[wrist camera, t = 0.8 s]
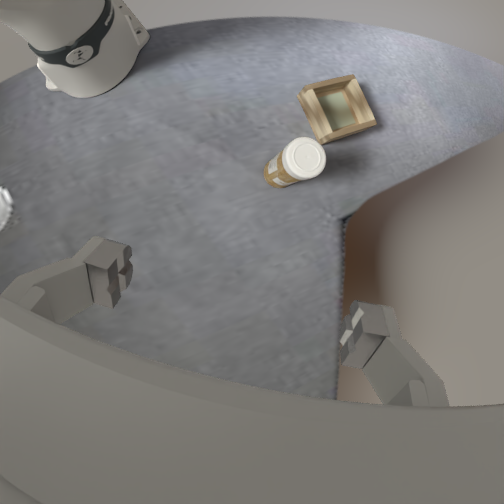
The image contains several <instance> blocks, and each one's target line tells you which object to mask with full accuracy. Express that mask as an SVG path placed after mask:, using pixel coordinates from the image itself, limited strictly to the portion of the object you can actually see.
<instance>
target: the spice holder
mask: <svg viewBox="0 0 504 504" xmlns="http://www.w3.org/2000/svg"><path fill="white" fill-rule="evenodd" d="M297 98H298V100H299V102H300V104H301V106H302V108H303V110H304V112H305V114H306V117H307V119H308V121H309V123H310V125H311V128H312V130H313V132H314V134H315V136H316V139H317V141H318V143H319V144H320V145H322V144H325V143H328V142H331V141H334V140H337V139H340V138H343V137H346V136H349V135H352V134H355V133H358V132H361V131H364V130H366V129H368V128H370V127H372V126H375V125H377V123H376V120H375V118H374V116H373V113H372V111H371V109H370V107H369V105H368V103H367V100H366V98H365V96H364V94H363V92H362V90H361V88H360V86H359V84H358V82H357V80H356V78H355V76H354V74H352V75H348V76H343V77H338V78H334V79H330V80H325V81H321V82H317V83H313V84H309V85H306V86H305V87H304V88H303V89H302V90H301V92H300V93H299V94H298V95H297Z"/></svg>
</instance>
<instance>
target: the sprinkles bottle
mask: <svg viewBox="0 0 504 504" xmlns="http://www.w3.org/2000/svg"><path fill="white" fill-rule="evenodd" d="M325 165H326V154H325V151H324V149H323V147H322V146H321V145H320V144H319V143H318V142H317V141H316V140H314V139H312V138H309V137H300V138H297V139H295V140H293V141H291V142H290V143H289V144H288V145H287V146H286V147H285V149H284V150H282V151H281V152H280V153H279V154H278V155H276V156H275V157H274V158H273V159H272V160H270V161H269V162H268V163H267V164H266V166H265V168H264V176H265V180H266V181H267V182H268V184H270V185H271V186H273V187H275V188H284V187H286V186H288V185H291V184H293V183H296V182H298V181H301V180H308V179H311V178H314V177H316V176H318V175H319V174H320V173H321V172H322V171H323V169H324V167H325Z"/></svg>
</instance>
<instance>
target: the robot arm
mask: <svg viewBox="0 0 504 504" xmlns="http://www.w3.org/2000/svg"><path fill="white" fill-rule="evenodd" d="M0 22H1V23H3V24H5V25H7V26H9V27H10V28H11V29H13V30H14V31H15V32H17V33H18V34H19V35H21V36H22V37H23V38H24V39H25V40H26V41H28V45H29V47H30V49H31V50H32V51H33V53H34V54H35V55H36V56H37V57H38V63H37V66H38V68H39V69H40V70H41V71H42V73H43V74H44V75H45V76H46V87H47V88H48V89H49V90H50V91H63V92H65V93H67V94H69V95H71V96H73V97H78V98H88V97H93V96H97V95H99V94H102V93H104V92H106V91H108V90H110V89H111V88H113V87H114V86H116V85H117V84H118V83H119V82H120V81H121V80H123V78H124V77H125V76H126V75H127V74H128V73H129V71H130V70H131V68H132V67H133V65H134V63H135V60H136V58H137V55H138V53H139V51H140V49H141V48H142V47H143V46H144V45H145V44H146V43H147V41H148V40H149V38H150V36H149V33H148V32H147V30H146V29H145V28H144V27H143V25H142V24H141V23H140V22H139V20H138V19H137V18H136V17H135V15H134V14H133V13H132V12H131V11H130V9H129V8H128V7H127V6H126V4H125V3H124V2H123V1H122V0H0ZM138 32H141V33H139V34H137V33H138ZM131 256H132V250H131V247H130V246H129V245H126V244H123V243H119V242H116V241H113V240H109V239H105V238H102V237H98V236H94V237H92V238H91V239H90V240H89V241H88V242H87V243H86V244H85V245H84V246H83V247H82V248H81V249H80V250H79V251H78V252H77V253H76V254H75V255H74V256H73V257H72V258H71V259H70V258H66V259H63V260H61V261H58V262H55V263H52V264H50V265H47V266H44V267H42V268H39V269H36V270H34V271H31V272H28V273H26V274H23V275H20V276H18V277H17V278H16V279H15V280H14V281H13V282H12V283H11V284H10V285H9V286H8V287H7V288H6V289H5V291H4V292H3V293H2V294H1V295H0V504H504V404H496V405H483V406H482V405H481V406H457V407H455V406H453V407H449V402H448V399H447V394H446V390H445V387H444V383H443V381H442V380H441V379H440V377H439V376H438V375H437V374H436V373H435V372H434V371H433V369H432V368H431V367H430V366H429V365H428V364H427V363H426V362H425V360H424V359H423V358H422V357H421V356H420V355H419V354H418V353H417V352H416V350H415V349H414V348H413V347H412V346H411V345H410V344H409V343H408V342H407V341H406V340H404V339H402V336H401V332H400V328H399V325H398V322H397V319H396V315H395V311H394V309H393V308H392V307H389V306H384V305H377V304H372V303H367V302H362V301H358V300H355V301H354V302H353V303H352V305H351V307H350V314H349V315H347V316H346V317H345V318H344V320H343V322H342V324H341V328H340V333H339V339H340V342H341V344H342V345H343V347H342V349H341V350H340V353H341V365H343V366H349V367H354V368H360V369H362V371H363V372H364V374H365V375H366V377H367V379H368V380H369V382H370V383H371V385H372V387H373V388H374V390H375V392H376V393H377V395H378V397H379V398H380V400H381V402H382V403H383V405H381V404H369V403H358V402H348V401H339V400H331V399H324V398H316V397H310V396H303V395H297V394H291V393H285V392H279V391H274V390H269V389H264V388H259V387H254V386H249V385H245V384H240V383H236V382H231V381H227V380H223V379H219V378H215V377H211V376H207V375H203V374H199V373H196V372H192V371H188V370H185V369H181V368H178V367H174V366H171V365H168V364H165V363H161V362H158V361H155V360H152V359H149V358H146V357H143V356H140V355H137V354H134V353H131V352H128V351H125V350H122V349H120V348H117V347H114V346H111V345H109V344H106V343H103V342H101V341H98V340H96V339H93V338H91V337H88V336H86V335H83V334H81V333H78V332H76V331H73V330H71V329H69V328H66V327H64V326H62V325H60V324H61V323H62V322H64V321H66V320H67V319H69V318H71V317H72V316H74V315H76V314H77V313H79V312H81V311H82V310H84V309H86V308H87V307H89V306H91V305H93V303H96V304H99V305H102V306H105V307H108V308H111V309H113V308H114V307H115V305H116V304H117V302H118V301H119V299H120V298H121V293H120V292H121V291H123V290H125V289H127V287H128V286H129V284H130V281H131V278H132V273H133V265H132V264H131V262H130V261H129V259H130V257H131Z"/></svg>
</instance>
